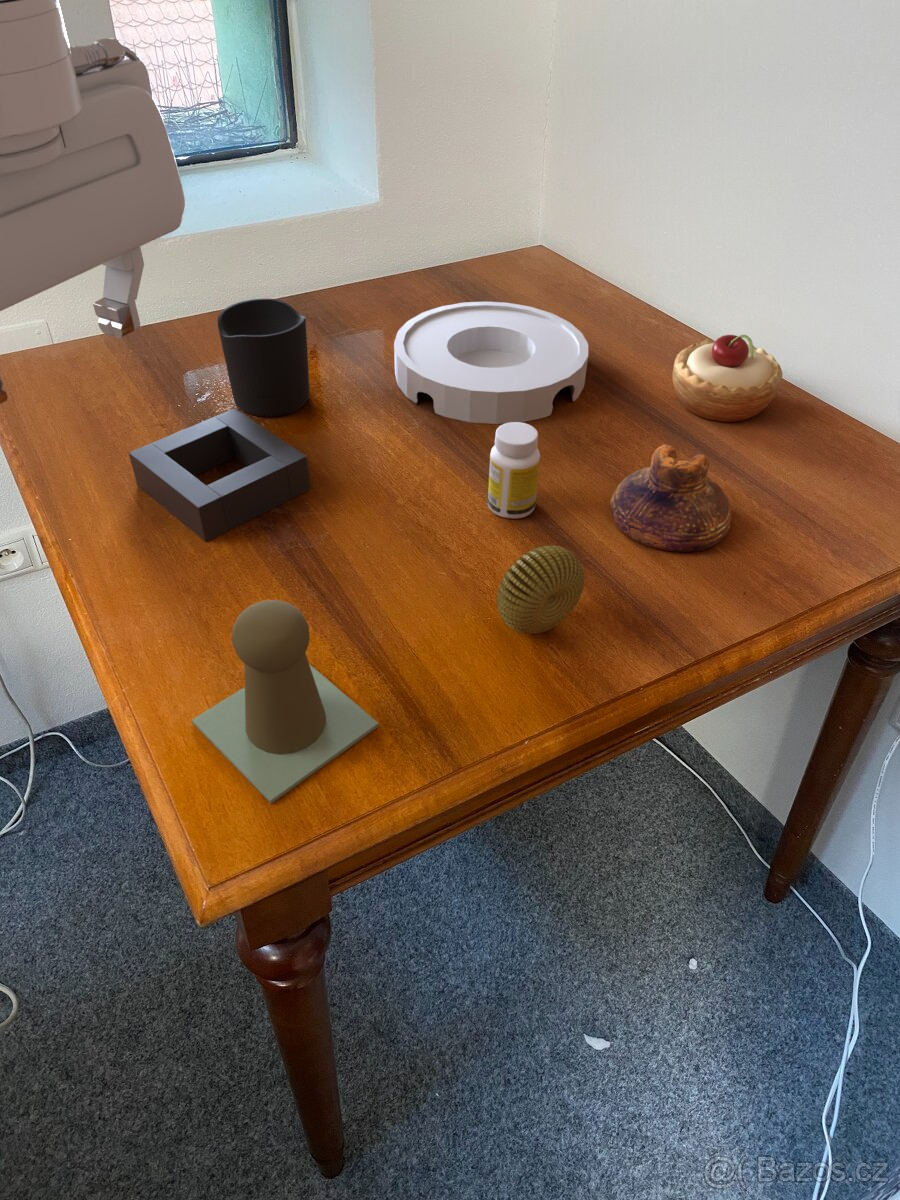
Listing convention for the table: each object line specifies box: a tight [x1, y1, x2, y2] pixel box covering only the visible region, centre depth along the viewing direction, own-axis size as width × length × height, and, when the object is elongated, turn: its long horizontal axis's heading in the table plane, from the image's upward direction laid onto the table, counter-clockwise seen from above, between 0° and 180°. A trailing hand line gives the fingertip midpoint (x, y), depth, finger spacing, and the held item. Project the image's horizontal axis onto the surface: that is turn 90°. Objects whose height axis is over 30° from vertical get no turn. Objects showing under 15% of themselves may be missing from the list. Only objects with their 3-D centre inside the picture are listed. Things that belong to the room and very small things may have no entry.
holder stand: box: [128, 408, 311, 543], centre depth 87 cm, size 12×12×4 cm
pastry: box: [671, 334, 783, 423], centre depth 100 cm, size 12×12×9 cm
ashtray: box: [393, 300, 589, 425], centre depth 106 cm, size 23×23×4 cm
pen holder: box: [217, 298, 310, 418], centre depth 98 cm, size 9×9×10 cm
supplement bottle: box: [487, 422, 541, 520], centre depth 84 cm, size 5×5×8 cm
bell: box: [609, 443, 733, 553], centre depth 84 cm, size 12×12×7 cm
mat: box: [191, 663, 380, 804], centre depth 66 cm, size 10×10×1 cm
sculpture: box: [496, 544, 585, 635], centre depth 72 cm, size 8×4×8 cm, turn 123°
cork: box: [231, 599, 326, 755], centre depth 62 cm, size 6×6×11 cm
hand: (58, 366), depth 47 cm, fingers open, 8 cm apart
